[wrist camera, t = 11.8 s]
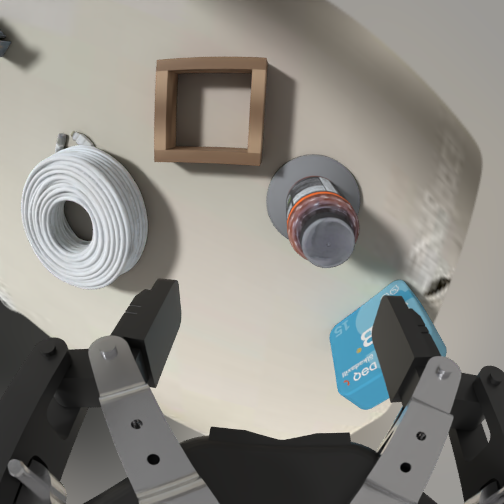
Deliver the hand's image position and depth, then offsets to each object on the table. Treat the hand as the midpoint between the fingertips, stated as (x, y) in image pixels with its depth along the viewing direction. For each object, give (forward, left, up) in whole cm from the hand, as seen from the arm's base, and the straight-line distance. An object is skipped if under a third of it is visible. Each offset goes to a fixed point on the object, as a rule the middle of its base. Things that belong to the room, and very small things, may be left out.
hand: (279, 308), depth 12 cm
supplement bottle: (+2, +4, -22) cm, 23 cm away
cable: (+5, -23, -23) cm, 33 cm away
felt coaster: (+2, +4, -23) cm, 23 cm away
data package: (+16, +14, -23) cm, 31 cm away
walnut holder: (-7, -7, -23) cm, 25 cm away
